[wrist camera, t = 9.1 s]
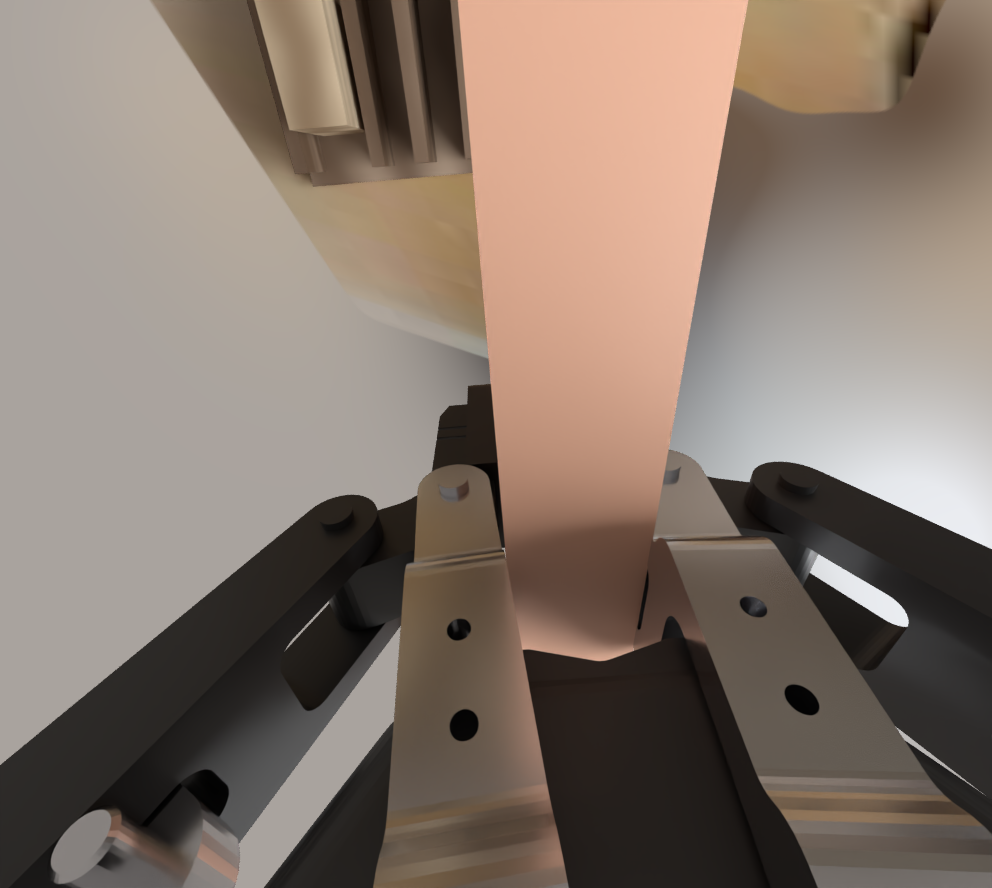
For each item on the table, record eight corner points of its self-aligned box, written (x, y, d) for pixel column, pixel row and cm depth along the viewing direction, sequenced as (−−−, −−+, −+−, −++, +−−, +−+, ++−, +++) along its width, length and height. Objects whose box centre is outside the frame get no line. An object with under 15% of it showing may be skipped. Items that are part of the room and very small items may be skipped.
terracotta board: (518, 20, 16) (1113, -2054, 1) (532, 457, 27) (601, 828, 12) (464, 25, 16) (288, -1942, 1) (500, 460, 27) (529, 833, 12)
